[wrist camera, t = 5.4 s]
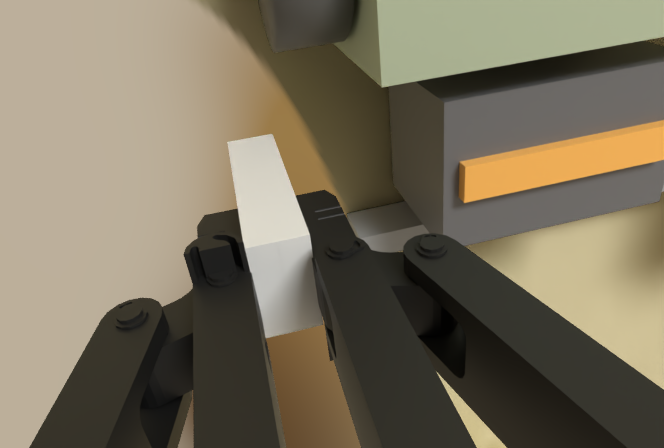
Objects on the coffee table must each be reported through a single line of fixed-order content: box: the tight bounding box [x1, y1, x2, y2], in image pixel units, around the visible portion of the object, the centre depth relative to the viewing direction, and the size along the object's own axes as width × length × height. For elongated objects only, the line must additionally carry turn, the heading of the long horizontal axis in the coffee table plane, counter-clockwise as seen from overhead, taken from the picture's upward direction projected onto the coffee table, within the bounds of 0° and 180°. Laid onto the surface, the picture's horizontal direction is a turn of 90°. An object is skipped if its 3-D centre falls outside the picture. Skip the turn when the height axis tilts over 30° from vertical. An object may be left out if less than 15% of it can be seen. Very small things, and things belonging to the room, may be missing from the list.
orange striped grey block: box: [388, 41, 664, 246], centre depth 18 cm, size 8×5×5 cm, turn 96°
